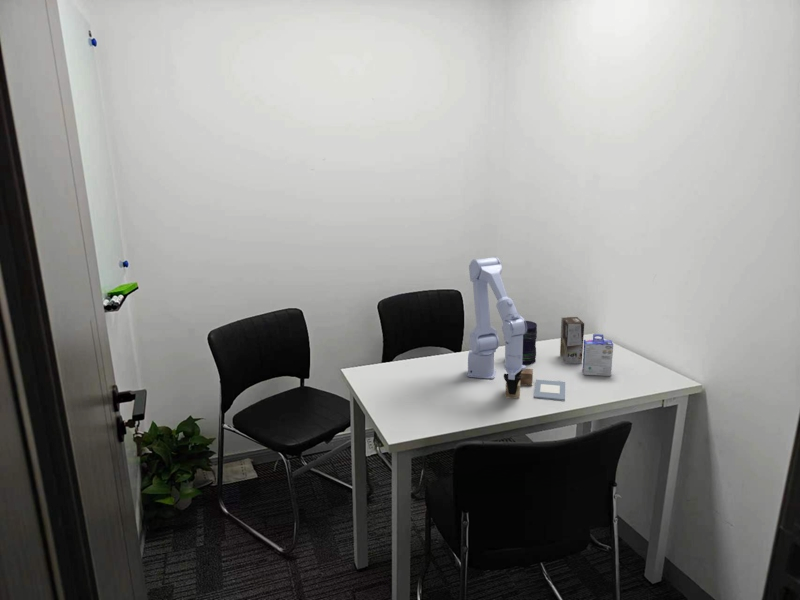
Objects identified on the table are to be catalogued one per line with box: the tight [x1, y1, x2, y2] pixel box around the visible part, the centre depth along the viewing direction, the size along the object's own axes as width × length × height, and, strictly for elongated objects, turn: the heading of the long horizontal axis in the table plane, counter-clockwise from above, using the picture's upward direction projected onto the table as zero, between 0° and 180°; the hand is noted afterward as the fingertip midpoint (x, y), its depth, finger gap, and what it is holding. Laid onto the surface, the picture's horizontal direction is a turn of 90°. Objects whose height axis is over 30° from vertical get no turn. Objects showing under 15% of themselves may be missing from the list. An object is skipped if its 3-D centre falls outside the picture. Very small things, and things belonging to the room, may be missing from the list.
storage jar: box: [522, 320, 538, 366], centre depth 209 cm, size 10×10×15 cm
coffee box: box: [559, 316, 585, 364], centre depth 209 cm, size 9×6×16 cm
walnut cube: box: [520, 368, 534, 387], centre depth 191 cm, size 4×4×4 cm
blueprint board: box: [533, 379, 566, 402], centre depth 184 cm, size 10×14×1 cm
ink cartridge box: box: [581, 333, 614, 377], centre depth 195 cm, size 10×6×14 cm, turn 78°
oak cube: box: [504, 381, 521, 399], centre depth 182 cm, size 4×4×4 cm
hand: (512, 390), depth 182 cm, fingers closed on oak cube, 4 cm apart
